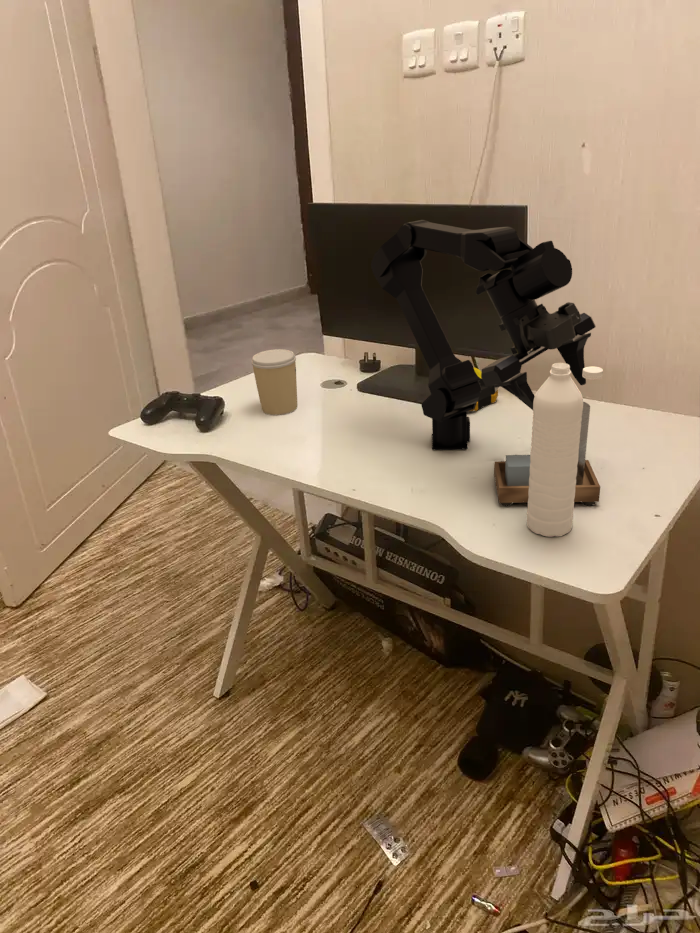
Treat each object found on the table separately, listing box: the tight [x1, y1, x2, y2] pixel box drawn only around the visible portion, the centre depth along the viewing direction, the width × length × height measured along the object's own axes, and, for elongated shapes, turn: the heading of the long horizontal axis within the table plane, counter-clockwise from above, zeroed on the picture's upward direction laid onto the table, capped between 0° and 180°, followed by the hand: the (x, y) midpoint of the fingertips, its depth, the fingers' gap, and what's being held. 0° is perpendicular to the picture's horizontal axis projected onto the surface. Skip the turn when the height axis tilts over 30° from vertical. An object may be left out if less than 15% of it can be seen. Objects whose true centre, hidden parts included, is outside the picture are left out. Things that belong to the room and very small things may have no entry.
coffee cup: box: [251, 348, 298, 417], centre depth 148 cm, size 9×9×12 cm
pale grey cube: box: [505, 454, 531, 486], centre depth 110 cm, size 4×4×4 cm
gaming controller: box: [429, 366, 500, 413], centre depth 145 cm, size 15×6×10 cm
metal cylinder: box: [576, 401, 591, 485], centre depth 107 cm, size 5×5×13 cm
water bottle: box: [526, 362, 604, 538], centre depth 96 cm, size 9×6×25 cm
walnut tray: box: [493, 459, 601, 507], centre depth 110 cm, size 15×9×3 cm, turn 84°
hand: (561, 398), depth 108 cm, fingers open, 9 cm apart
